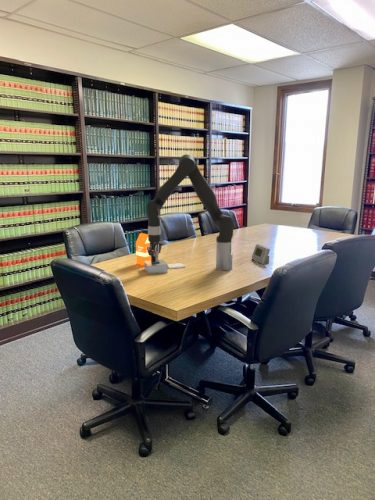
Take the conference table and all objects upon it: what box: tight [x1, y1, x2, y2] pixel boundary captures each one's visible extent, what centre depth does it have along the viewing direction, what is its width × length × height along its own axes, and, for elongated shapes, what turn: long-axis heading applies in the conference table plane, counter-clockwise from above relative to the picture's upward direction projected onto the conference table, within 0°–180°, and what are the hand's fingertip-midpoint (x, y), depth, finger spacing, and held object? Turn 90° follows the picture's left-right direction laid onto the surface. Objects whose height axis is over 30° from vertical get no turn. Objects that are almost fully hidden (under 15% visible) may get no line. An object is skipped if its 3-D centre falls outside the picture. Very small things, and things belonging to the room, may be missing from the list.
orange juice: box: [135, 232, 151, 266], centre depth 239 cm, size 8×9×20 cm
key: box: [150, 250, 160, 264], centre depth 224 cm, size 4×4×11 cm
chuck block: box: [143, 259, 169, 275], centre depth 225 cm, size 12×12×5 cm
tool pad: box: [167, 262, 186, 270], centre depth 234 cm, size 10×8×1 cm
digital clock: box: [251, 243, 271, 265], centre depth 243 cm, size 16×9×11 cm, turn 5°
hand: (154, 261), depth 224 cm, fingers closed on key, 3 cm apart
